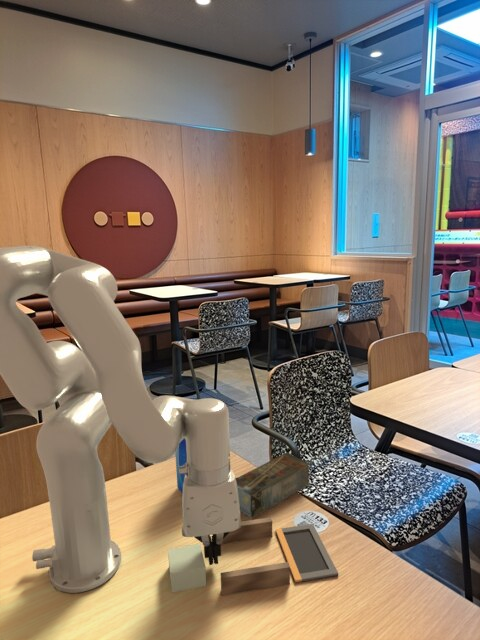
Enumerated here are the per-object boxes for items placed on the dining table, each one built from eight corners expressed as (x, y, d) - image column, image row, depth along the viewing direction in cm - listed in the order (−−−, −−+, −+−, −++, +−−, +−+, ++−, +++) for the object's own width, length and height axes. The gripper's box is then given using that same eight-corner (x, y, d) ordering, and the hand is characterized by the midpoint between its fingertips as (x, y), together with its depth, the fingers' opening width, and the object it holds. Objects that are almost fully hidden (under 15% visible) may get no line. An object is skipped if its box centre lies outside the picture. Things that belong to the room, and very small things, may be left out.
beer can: (183, 504, 99) (179, 439, 96) (173, 484, 107) (169, 424, 103) (218, 494, 102) (215, 431, 99) (205, 476, 110) (203, 417, 106)
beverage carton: (228, 503, 99) (227, 477, 98) (287, 472, 111) (287, 448, 110) (250, 520, 93) (250, 493, 92) (310, 486, 105) (311, 461, 104)
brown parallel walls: (222, 595, 74) (221, 578, 74) (212, 541, 87) (212, 525, 86) (289, 584, 76) (289, 567, 76) (270, 532, 89) (270, 517, 89)
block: (171, 593, 75) (170, 573, 74) (169, 567, 81) (167, 549, 80) (206, 586, 77) (205, 567, 76) (201, 561, 82) (200, 543, 81)
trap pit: (295, 583, 77) (295, 580, 76) (275, 531, 89) (275, 529, 89) (338, 575, 78) (338, 572, 78) (312, 526, 91) (312, 523, 91)
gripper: (166, 487, 71) (172, 581, 75) (255, 475, 74) (256, 567, 78) (165, 463, 79) (171, 550, 83) (246, 453, 81) (248, 539, 85)
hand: (212, 558), depth 80 cm, fingers closed
